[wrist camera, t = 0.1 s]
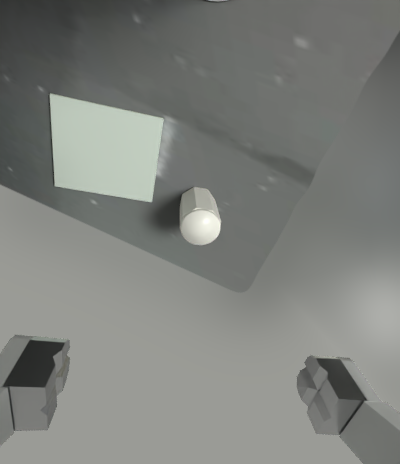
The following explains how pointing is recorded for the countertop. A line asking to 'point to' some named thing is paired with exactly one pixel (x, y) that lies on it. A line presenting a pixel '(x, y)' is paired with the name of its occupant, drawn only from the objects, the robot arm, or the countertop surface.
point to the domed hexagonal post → (199, 216)
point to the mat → (104, 148)
